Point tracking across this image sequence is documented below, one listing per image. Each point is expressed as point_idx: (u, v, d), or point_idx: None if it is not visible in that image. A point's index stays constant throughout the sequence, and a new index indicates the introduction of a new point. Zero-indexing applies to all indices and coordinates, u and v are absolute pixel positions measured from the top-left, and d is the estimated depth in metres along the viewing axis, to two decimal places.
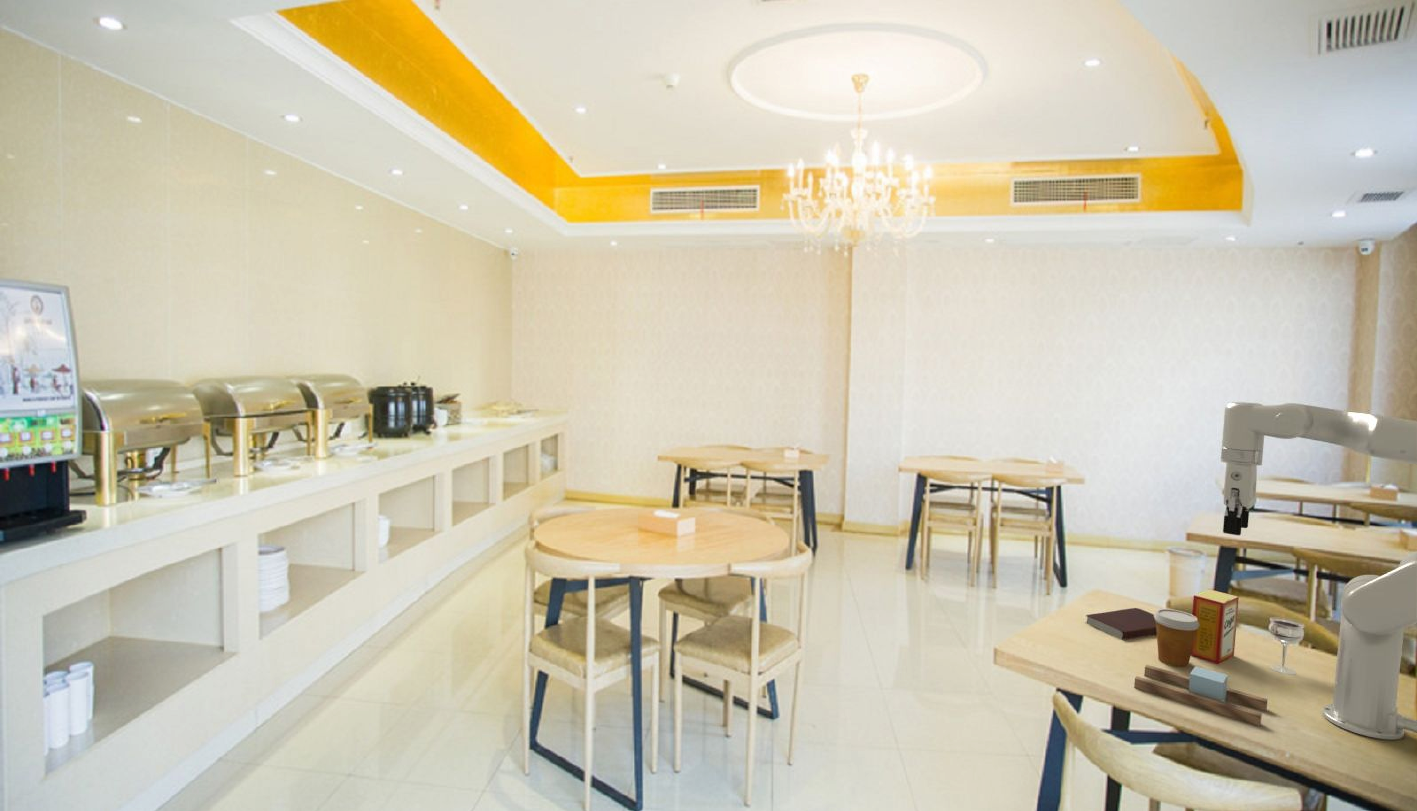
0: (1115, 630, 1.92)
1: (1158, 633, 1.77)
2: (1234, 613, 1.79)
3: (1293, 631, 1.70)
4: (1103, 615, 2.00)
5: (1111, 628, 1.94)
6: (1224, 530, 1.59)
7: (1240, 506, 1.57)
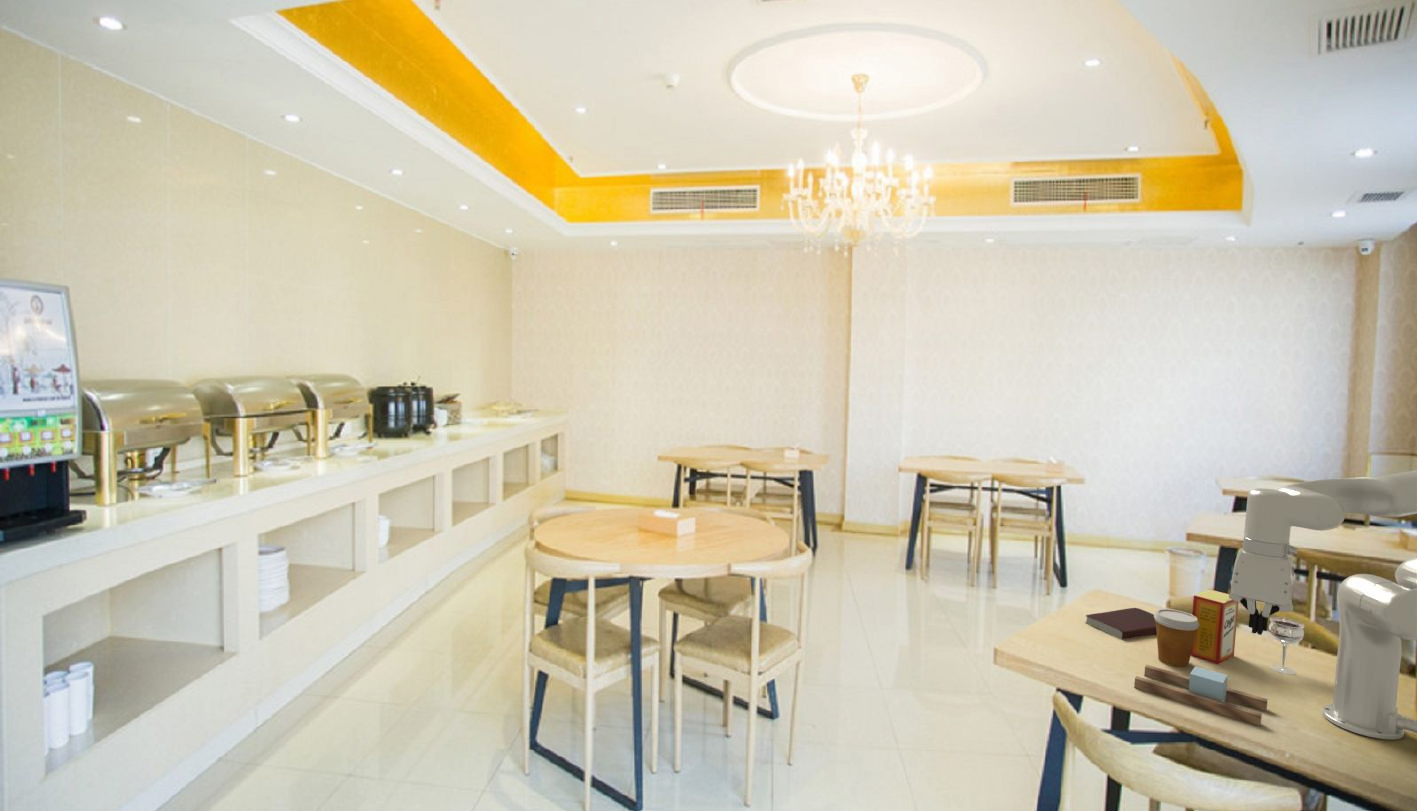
0: (1115, 630, 1.92)
1: (1158, 633, 1.77)
2: (1234, 613, 1.79)
3: (1293, 631, 1.70)
4: (1102, 615, 2.00)
5: (1111, 628, 1.94)
6: (1261, 632, 1.49)
7: None
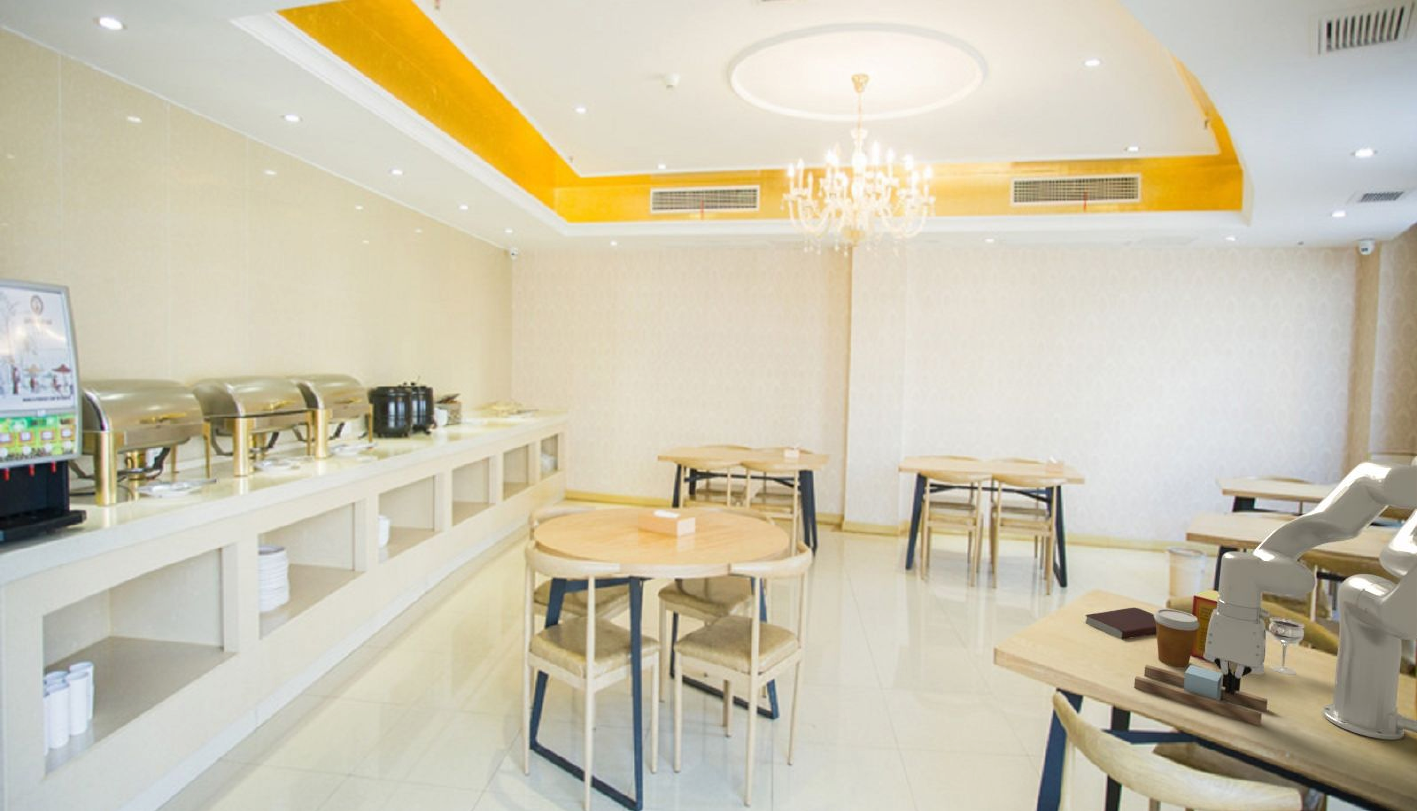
0: (1114, 630, 1.93)
1: (1158, 633, 1.77)
2: None
3: (1293, 631, 1.70)
4: (1102, 615, 2.00)
5: (1110, 628, 1.94)
6: (1233, 692, 1.52)
7: None
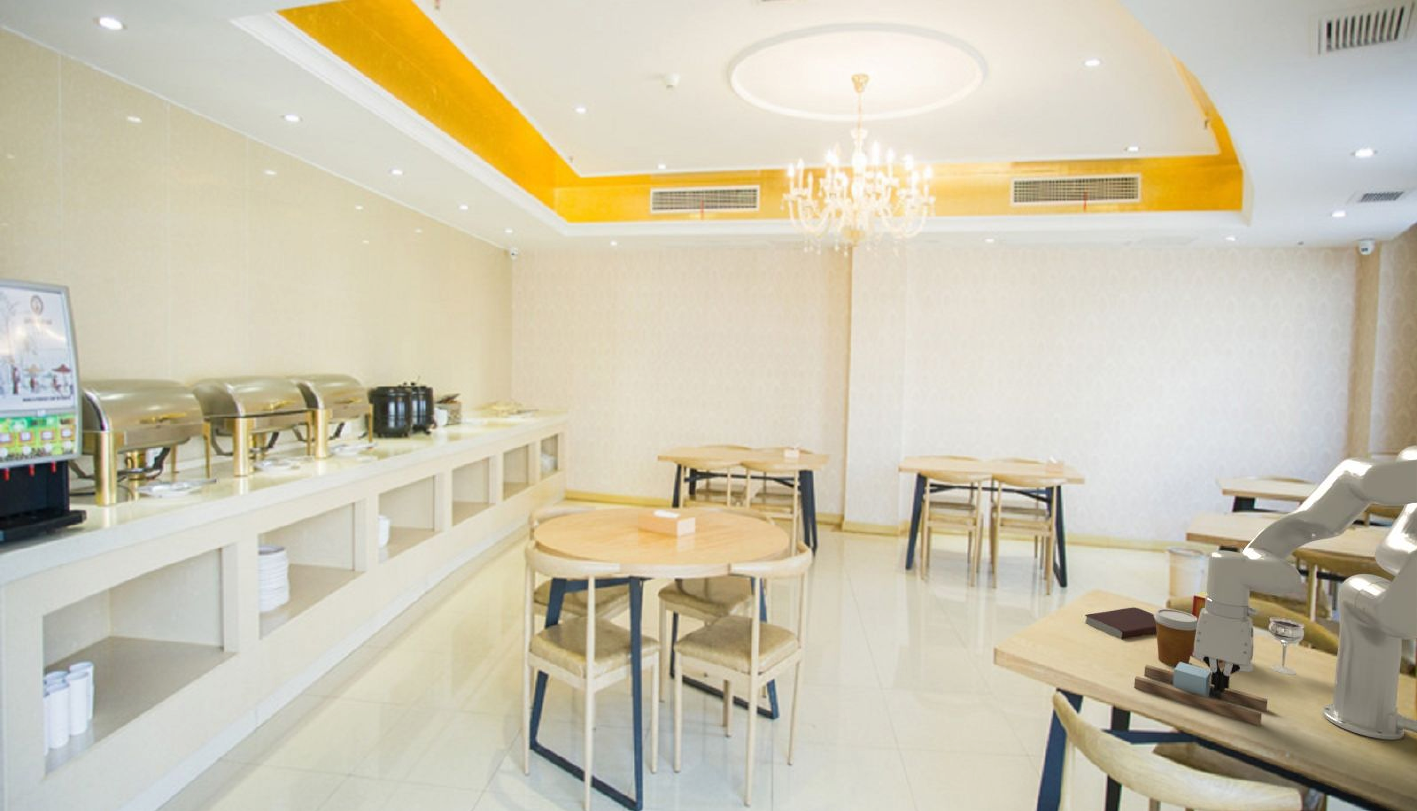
0: (1114, 629, 1.93)
1: (1158, 633, 1.77)
2: None
3: (1293, 631, 1.70)
4: (1102, 615, 2.01)
5: (1110, 628, 1.94)
6: (1222, 690, 1.54)
7: None
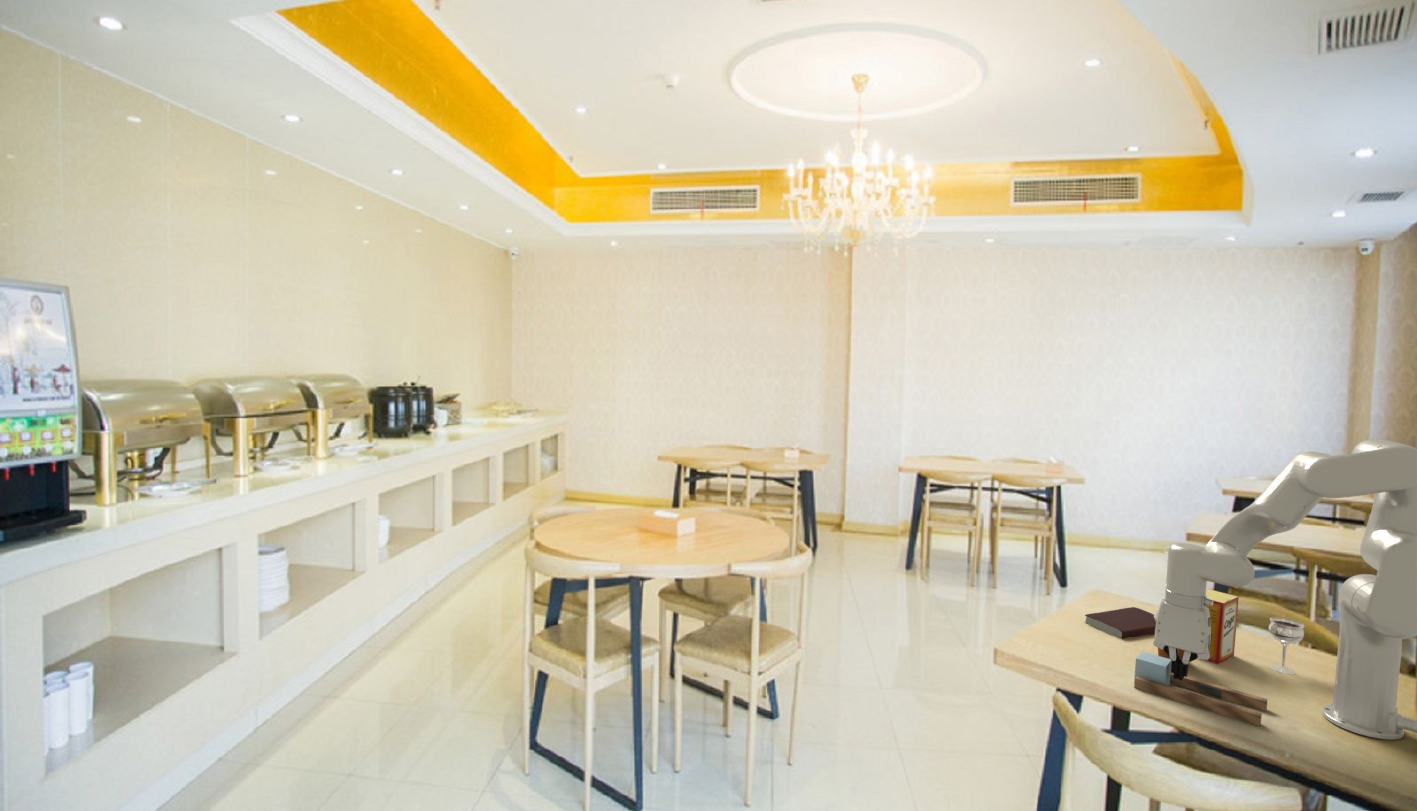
0: (1114, 629, 1.93)
1: None
2: (1234, 613, 1.79)
3: (1293, 631, 1.70)
4: (1102, 615, 2.01)
5: (1110, 627, 1.94)
6: (1181, 678, 1.59)
7: None
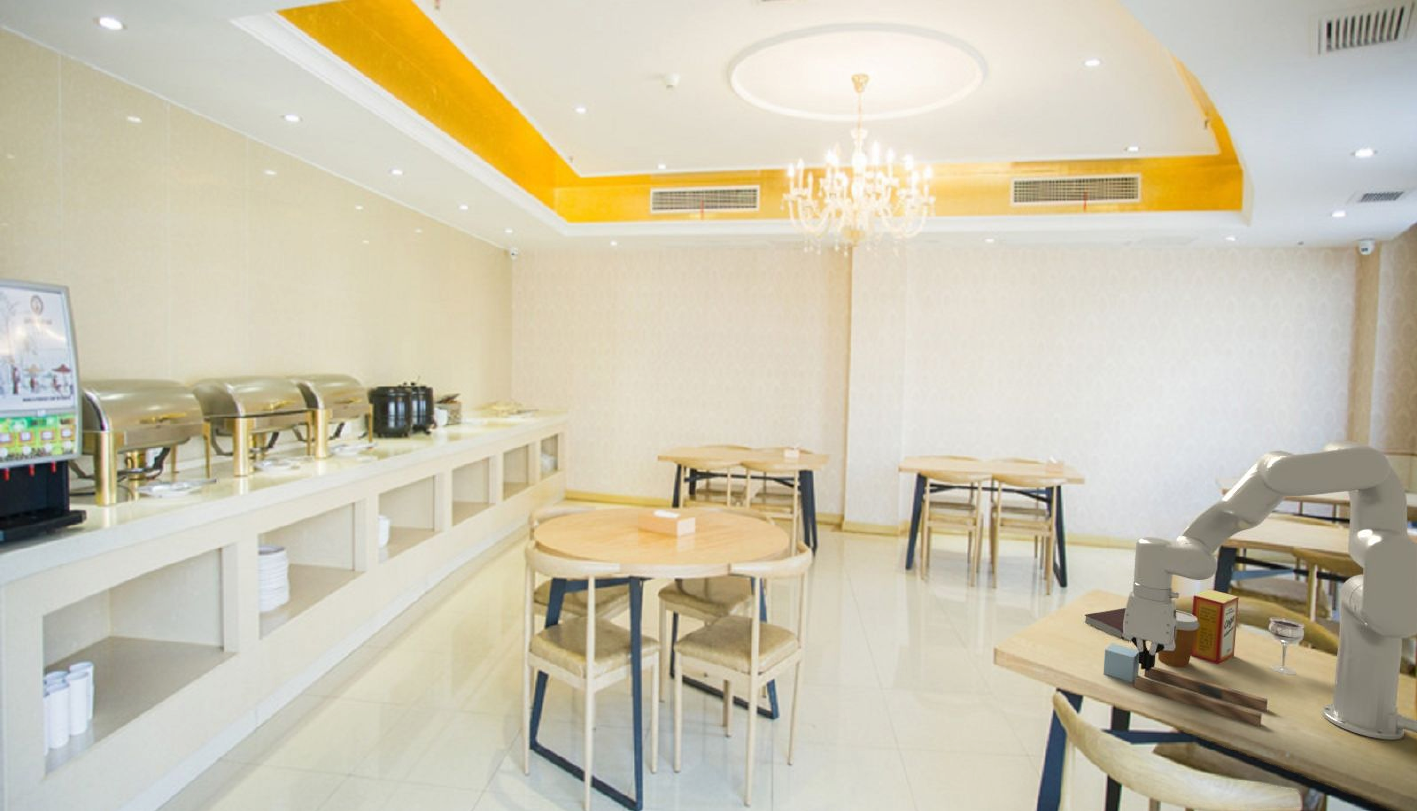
0: (1114, 629, 1.93)
1: None
2: (1234, 613, 1.79)
3: (1293, 631, 1.70)
4: (1101, 615, 2.01)
5: (1110, 627, 1.94)
6: (1148, 668, 1.64)
7: None
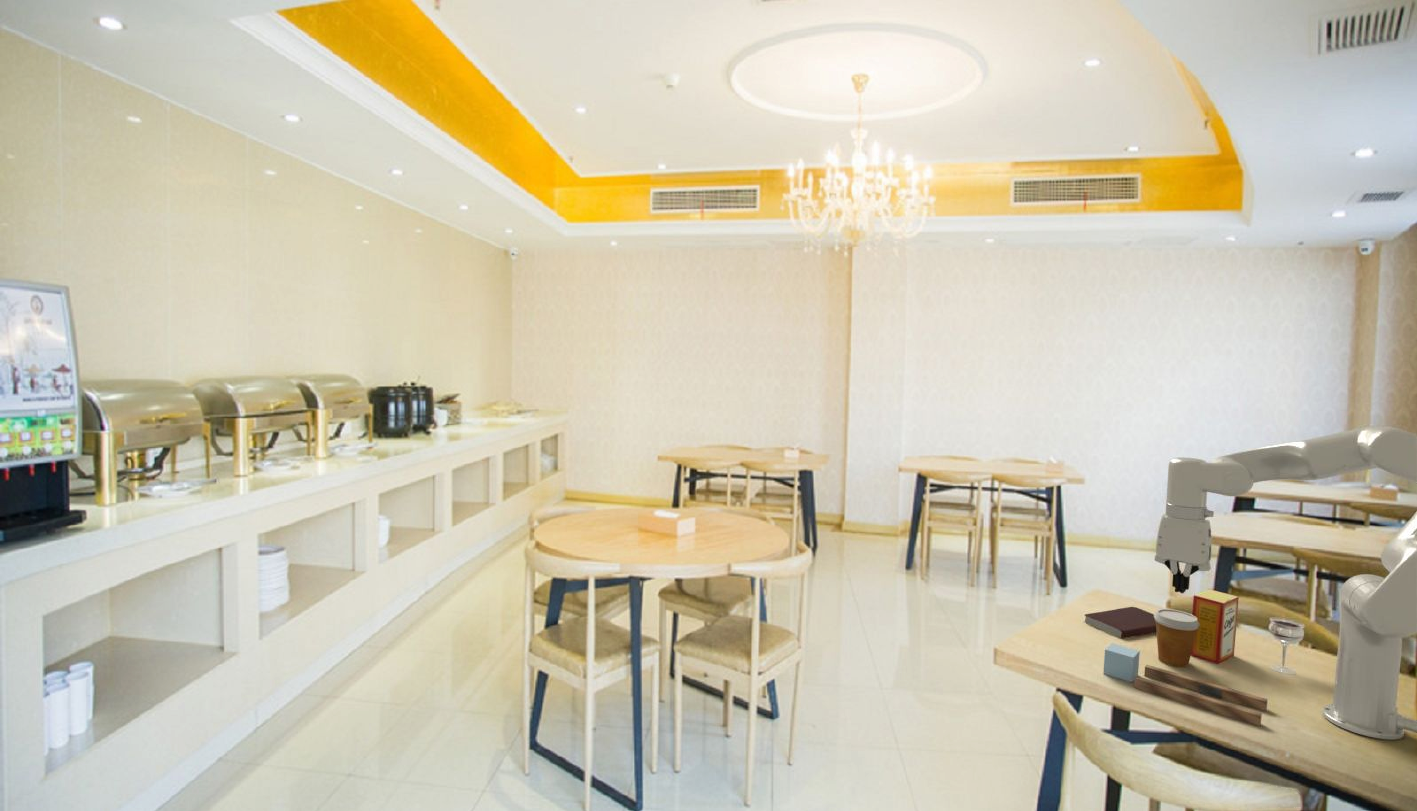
0: (1114, 629, 1.93)
1: (1158, 633, 1.77)
2: (1234, 613, 1.79)
3: (1293, 631, 1.70)
4: (1101, 615, 2.01)
5: (1110, 627, 1.94)
6: (1183, 590, 1.60)
7: (1193, 564, 1.60)
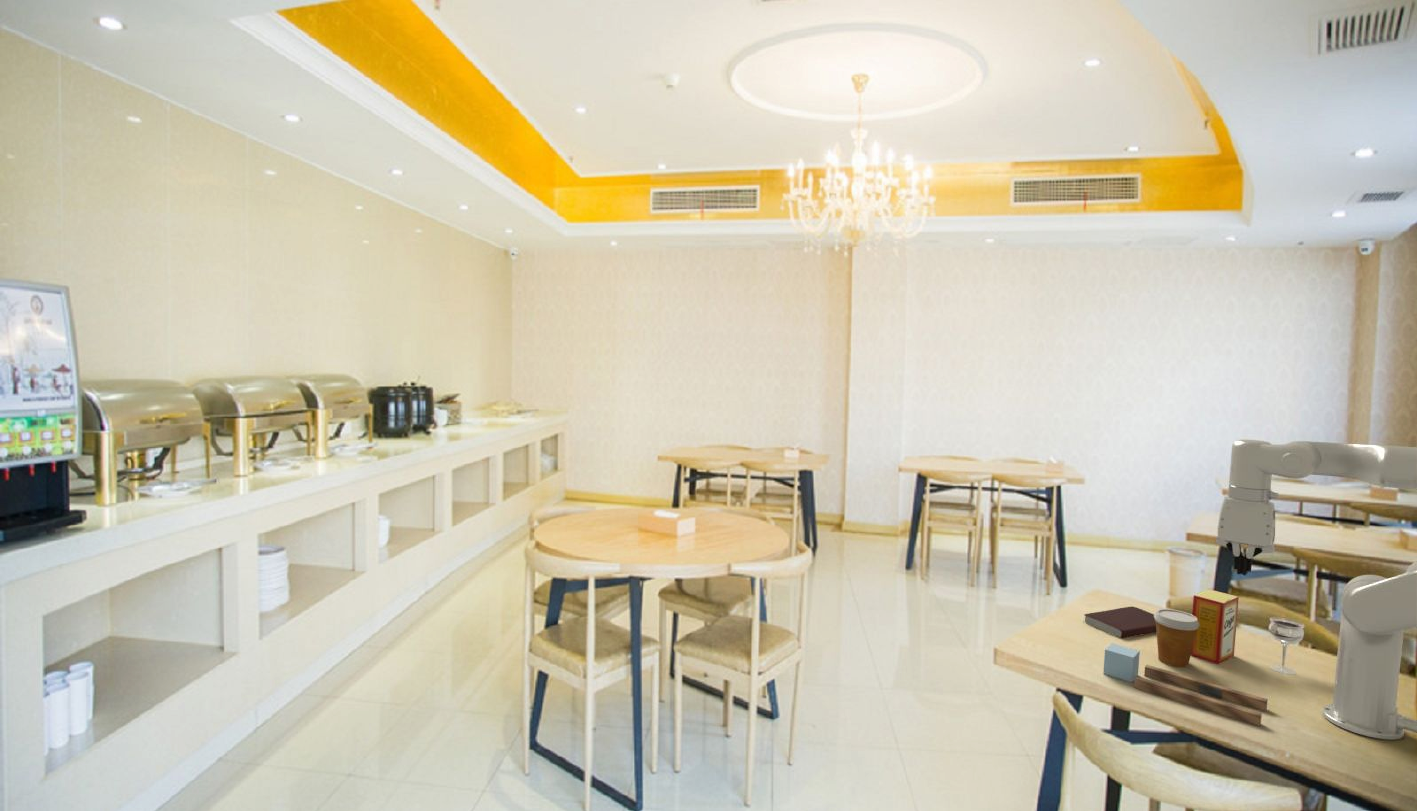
0: (1114, 629, 1.93)
1: (1158, 633, 1.77)
2: (1234, 613, 1.79)
3: (1293, 631, 1.70)
4: (1101, 614, 2.01)
5: (1109, 627, 1.94)
6: (1245, 573, 1.60)
7: (1256, 546, 1.60)
